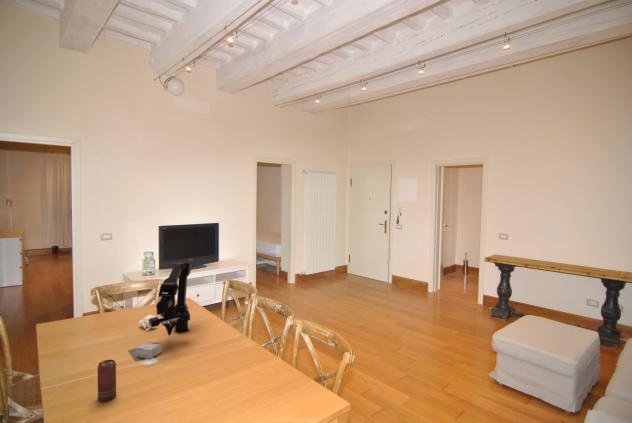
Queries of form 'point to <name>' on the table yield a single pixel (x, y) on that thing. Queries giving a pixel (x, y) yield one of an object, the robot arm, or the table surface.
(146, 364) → the white glossy disc
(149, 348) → the medicine box
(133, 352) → the mat
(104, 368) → the can
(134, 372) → the table surface
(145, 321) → the white animal figurine
